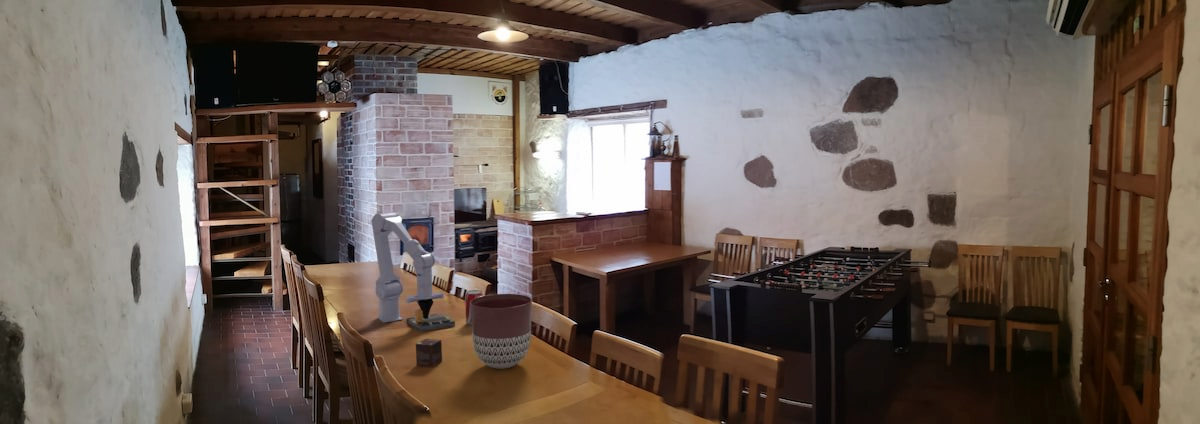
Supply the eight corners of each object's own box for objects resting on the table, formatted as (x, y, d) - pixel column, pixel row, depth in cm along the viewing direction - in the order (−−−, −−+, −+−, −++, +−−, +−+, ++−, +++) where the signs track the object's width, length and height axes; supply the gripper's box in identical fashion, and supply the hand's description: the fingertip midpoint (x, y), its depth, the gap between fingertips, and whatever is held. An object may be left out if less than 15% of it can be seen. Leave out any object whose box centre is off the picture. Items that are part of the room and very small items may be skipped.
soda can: (486, 321, 256) (485, 289, 255) (481, 326, 249) (480, 293, 247) (469, 321, 256) (468, 289, 255) (463, 325, 249) (462, 293, 248)
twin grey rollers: (405, 321, 256) (405, 317, 256) (436, 316, 263) (436, 313, 263) (408, 323, 253) (408, 319, 253) (439, 318, 260) (439, 314, 260)
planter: (515, 380, 190) (513, 310, 188) (459, 372, 197) (457, 305, 195) (543, 360, 208) (542, 296, 206) (491, 353, 215) (489, 291, 213)
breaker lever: (415, 320, 248) (414, 309, 248) (420, 319, 250) (419, 309, 249) (417, 322, 246) (417, 311, 246) (422, 321, 247) (422, 310, 247)
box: (442, 361, 207) (442, 339, 207) (432, 367, 202) (431, 345, 201) (426, 359, 209) (426, 338, 209) (416, 365, 204) (415, 343, 203)
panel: (408, 323, 253) (408, 317, 252) (442, 318, 260) (442, 312, 260) (420, 332, 241) (419, 325, 241) (455, 326, 249) (454, 319, 249)
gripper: (409, 288, 241) (410, 323, 242) (446, 283, 249) (447, 317, 250) (403, 285, 246) (404, 319, 248) (439, 280, 254) (440, 313, 256)
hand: (425, 318), depth 249 cm, fingers closed
